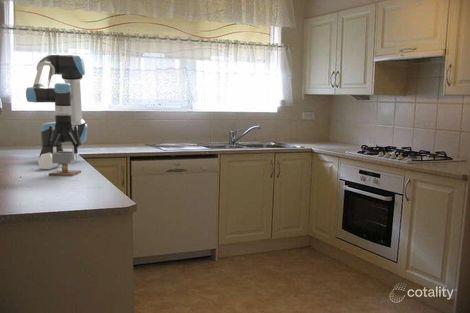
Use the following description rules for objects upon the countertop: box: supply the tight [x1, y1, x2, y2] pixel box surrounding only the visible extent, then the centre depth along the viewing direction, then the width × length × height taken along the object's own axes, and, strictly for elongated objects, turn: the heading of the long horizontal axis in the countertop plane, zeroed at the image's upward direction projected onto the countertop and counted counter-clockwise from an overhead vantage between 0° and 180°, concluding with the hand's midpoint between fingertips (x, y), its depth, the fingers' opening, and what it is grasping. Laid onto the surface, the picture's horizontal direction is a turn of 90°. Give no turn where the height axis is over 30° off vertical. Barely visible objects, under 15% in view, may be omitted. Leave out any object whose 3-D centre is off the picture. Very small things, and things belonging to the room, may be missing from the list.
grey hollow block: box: [52, 150, 78, 165], centre depth 249 cm, size 9×9×5 cm
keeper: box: [48, 163, 82, 177], centre depth 249 cm, size 12×12×8 cm
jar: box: [36, 153, 61, 170], centre depth 270 cm, size 9×8×12 cm
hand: (64, 160), depth 249 cm, fingers closed on grey hollow block, 9 cm apart
